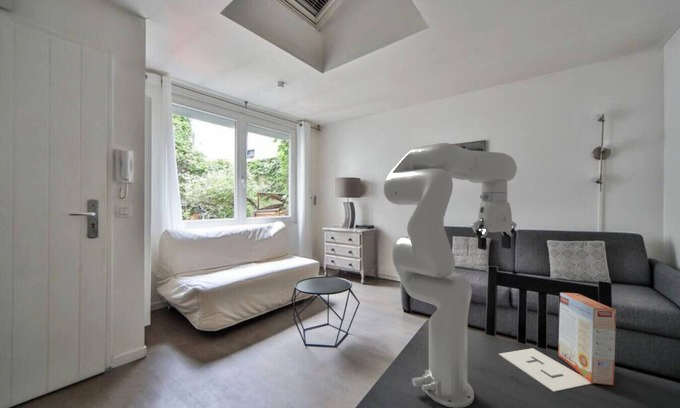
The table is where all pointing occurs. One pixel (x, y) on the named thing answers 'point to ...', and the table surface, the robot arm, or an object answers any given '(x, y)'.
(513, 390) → the table surface
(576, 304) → the cracker box
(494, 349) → the table surface
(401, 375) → the table surface
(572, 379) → the tile
